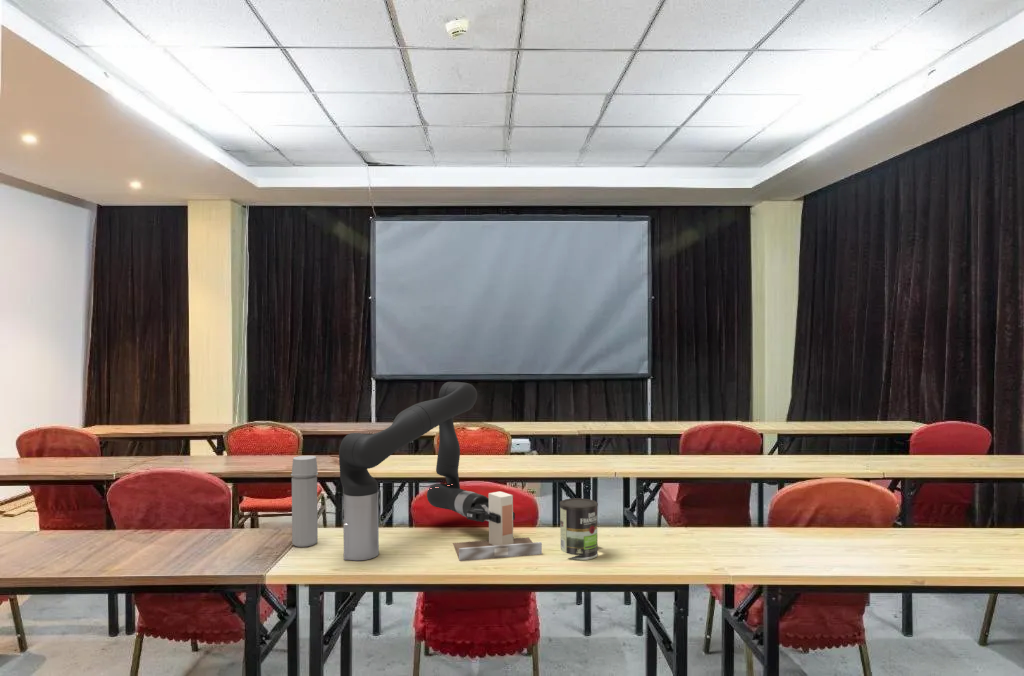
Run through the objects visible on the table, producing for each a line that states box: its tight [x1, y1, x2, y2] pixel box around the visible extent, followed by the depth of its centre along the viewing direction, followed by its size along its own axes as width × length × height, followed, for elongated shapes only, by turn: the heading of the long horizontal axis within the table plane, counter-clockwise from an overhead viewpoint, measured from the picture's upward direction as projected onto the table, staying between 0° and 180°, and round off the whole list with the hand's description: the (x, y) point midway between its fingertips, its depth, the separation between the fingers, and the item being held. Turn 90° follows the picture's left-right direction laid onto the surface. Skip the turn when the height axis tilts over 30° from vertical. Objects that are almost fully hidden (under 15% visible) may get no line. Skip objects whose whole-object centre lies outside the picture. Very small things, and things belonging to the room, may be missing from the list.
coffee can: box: [559, 497, 599, 561], centre depth 178 cm, size 10×10×14 cm
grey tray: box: [452, 537, 543, 562], centre depth 178 cm, size 22×15×4 cm
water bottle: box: [290, 455, 319, 548], centre depth 190 cm, size 9×8×25 cm
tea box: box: [488, 491, 514, 546], centre depth 182 cm, size 4×6×14 cm, turn 37°
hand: (506, 517), depth 180 cm, fingers open, 4 cm apart
